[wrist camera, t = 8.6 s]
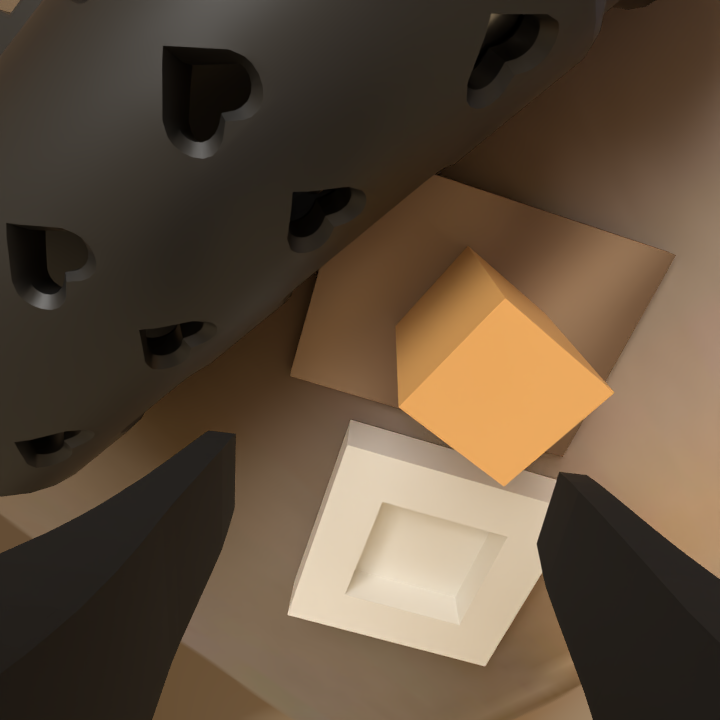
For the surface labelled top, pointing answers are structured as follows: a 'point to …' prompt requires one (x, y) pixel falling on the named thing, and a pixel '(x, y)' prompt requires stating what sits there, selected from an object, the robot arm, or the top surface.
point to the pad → (501, 251)
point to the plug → (491, 370)
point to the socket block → (421, 546)
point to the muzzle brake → (217, 176)
